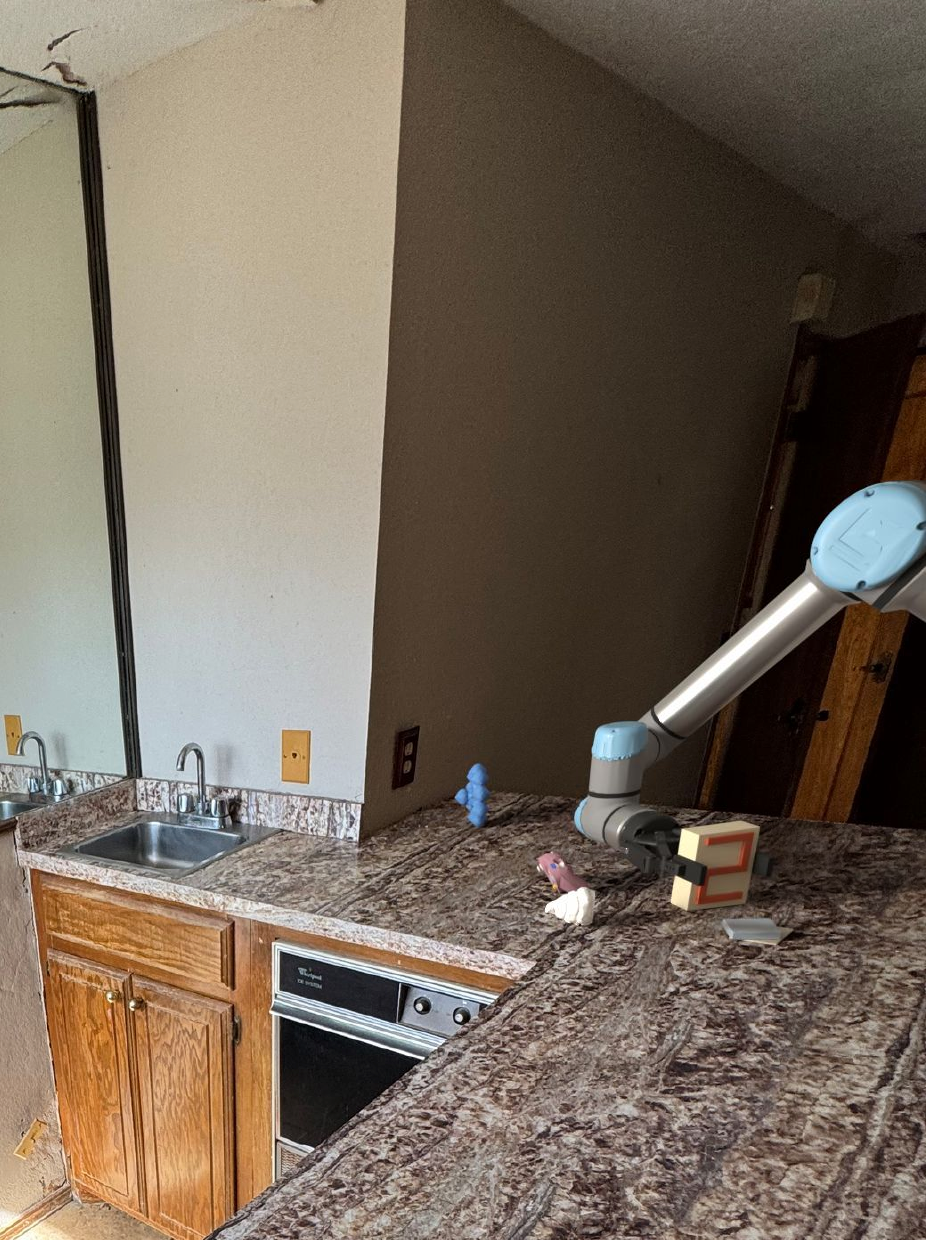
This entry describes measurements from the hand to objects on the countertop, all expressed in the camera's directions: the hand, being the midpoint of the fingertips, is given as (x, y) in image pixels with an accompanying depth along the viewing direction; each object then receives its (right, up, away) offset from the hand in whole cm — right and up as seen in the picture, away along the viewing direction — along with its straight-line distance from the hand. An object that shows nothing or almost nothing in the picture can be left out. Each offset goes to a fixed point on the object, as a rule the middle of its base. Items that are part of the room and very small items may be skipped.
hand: (736, 871), depth 120 cm
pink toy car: (-12, +1, +21) cm, 24 cm away
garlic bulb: (-19, -6, +8) cm, 21 cm away
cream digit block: (+1, -3, +7) cm, 8 cm away
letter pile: (-3, -11, -8) cm, 14 cm away
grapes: (-8, +21, +61) cm, 65 cm away
